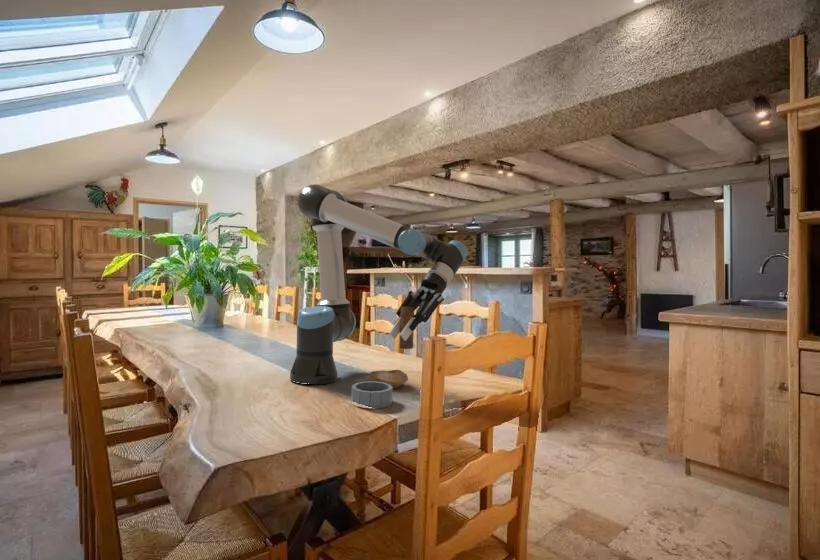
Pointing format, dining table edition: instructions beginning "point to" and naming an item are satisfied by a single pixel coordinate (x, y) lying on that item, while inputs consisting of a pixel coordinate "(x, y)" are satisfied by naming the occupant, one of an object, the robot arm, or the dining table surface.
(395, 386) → the pottery oil lamp
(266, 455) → the dining table surface
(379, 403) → the grey plastic ring
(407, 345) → the brown cylinder
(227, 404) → the dining table surface
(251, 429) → the dining table surface
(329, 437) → the dining table surface
